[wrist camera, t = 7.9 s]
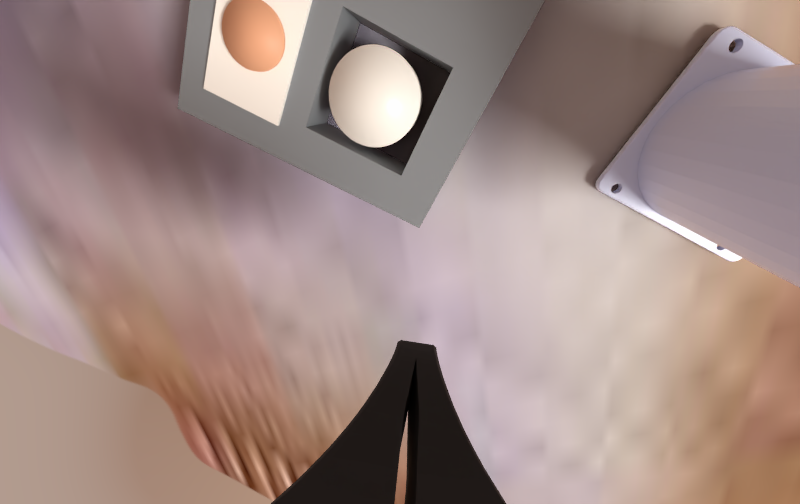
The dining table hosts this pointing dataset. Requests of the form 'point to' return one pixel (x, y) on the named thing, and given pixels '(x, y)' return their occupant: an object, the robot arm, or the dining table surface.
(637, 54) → the dining table surface
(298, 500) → the robot arm
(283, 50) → the button board
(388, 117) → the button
